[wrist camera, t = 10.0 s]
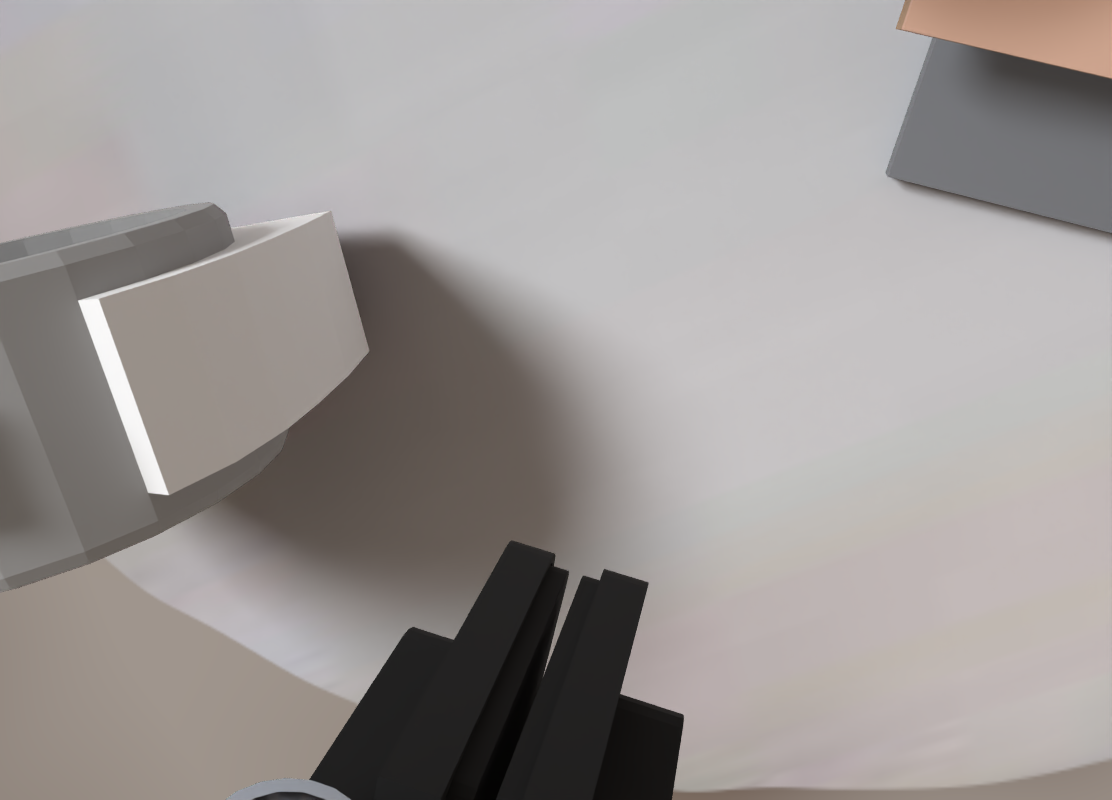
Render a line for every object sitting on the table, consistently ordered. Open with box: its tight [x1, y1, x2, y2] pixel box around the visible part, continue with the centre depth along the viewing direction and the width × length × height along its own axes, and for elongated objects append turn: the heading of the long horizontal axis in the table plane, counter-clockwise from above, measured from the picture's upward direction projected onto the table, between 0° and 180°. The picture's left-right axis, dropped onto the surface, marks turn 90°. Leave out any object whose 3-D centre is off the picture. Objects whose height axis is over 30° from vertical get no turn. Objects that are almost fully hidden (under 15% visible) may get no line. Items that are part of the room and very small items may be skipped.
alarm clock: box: [0, 202, 369, 592], centre depth 33 cm, size 18×8×20 cm, turn 102°
